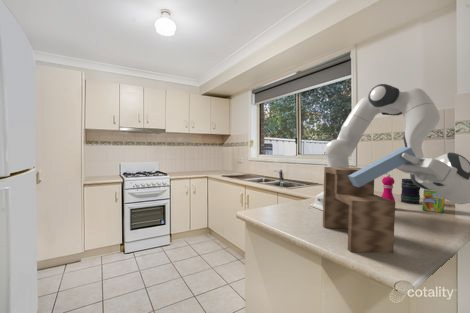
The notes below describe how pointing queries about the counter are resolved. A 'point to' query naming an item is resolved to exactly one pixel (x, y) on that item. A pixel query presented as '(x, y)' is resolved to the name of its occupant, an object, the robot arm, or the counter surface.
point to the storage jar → (410, 192)
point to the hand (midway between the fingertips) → (396, 154)
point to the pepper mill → (388, 187)
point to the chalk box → (433, 201)
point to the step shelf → (358, 212)
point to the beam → (380, 167)
